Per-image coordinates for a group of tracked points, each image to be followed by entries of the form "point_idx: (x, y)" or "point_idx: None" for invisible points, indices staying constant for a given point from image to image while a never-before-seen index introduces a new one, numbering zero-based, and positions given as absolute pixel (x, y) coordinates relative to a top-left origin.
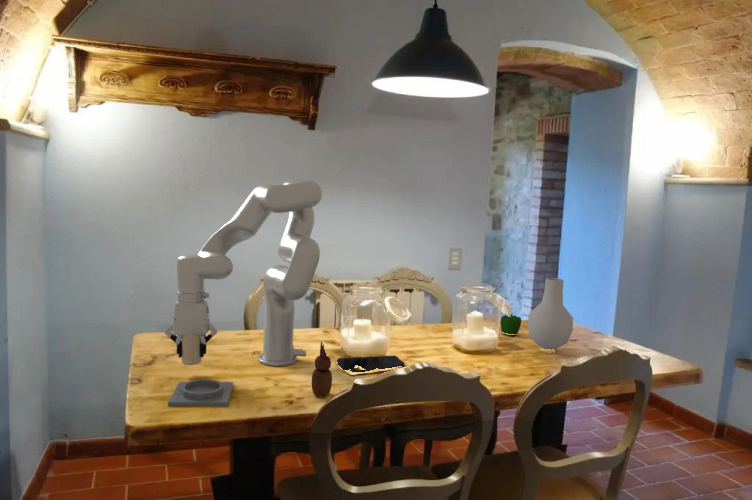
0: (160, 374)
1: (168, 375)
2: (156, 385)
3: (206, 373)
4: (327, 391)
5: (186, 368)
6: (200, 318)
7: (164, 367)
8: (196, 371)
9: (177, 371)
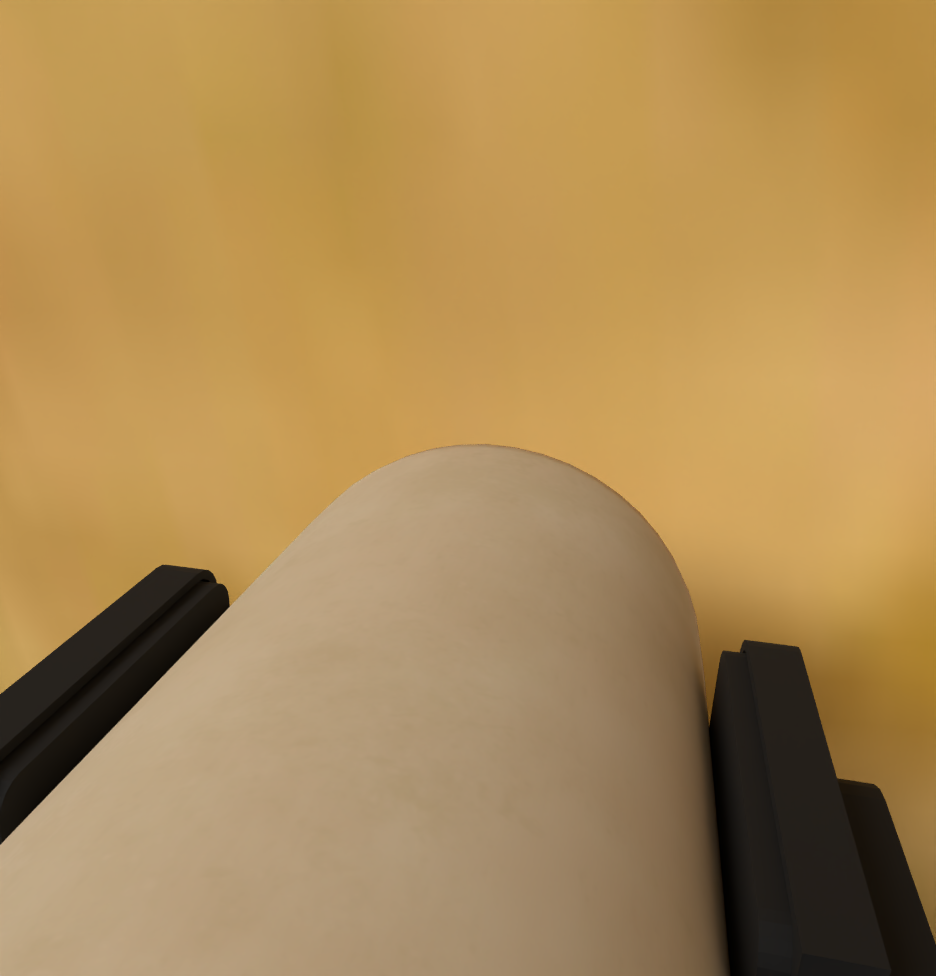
0: (66, 506)
1: (188, 555)
2: None
3: (780, 500)
4: None
5: (393, 212)
6: None
7: (10, 156)
8: (594, 388)
9: (273, 378)
